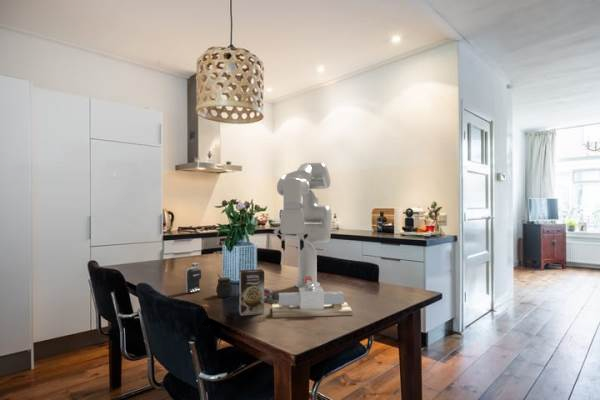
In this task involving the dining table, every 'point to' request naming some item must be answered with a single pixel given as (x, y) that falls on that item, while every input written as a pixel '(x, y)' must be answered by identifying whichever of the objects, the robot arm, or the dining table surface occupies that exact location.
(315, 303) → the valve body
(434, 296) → the dining table surface
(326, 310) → the valve board
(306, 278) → the lever
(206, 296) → the dining table surface
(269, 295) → the walkie-talkie
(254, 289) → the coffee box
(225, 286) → the mate gourd
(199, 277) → the battery charger
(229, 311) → the dining table surface
